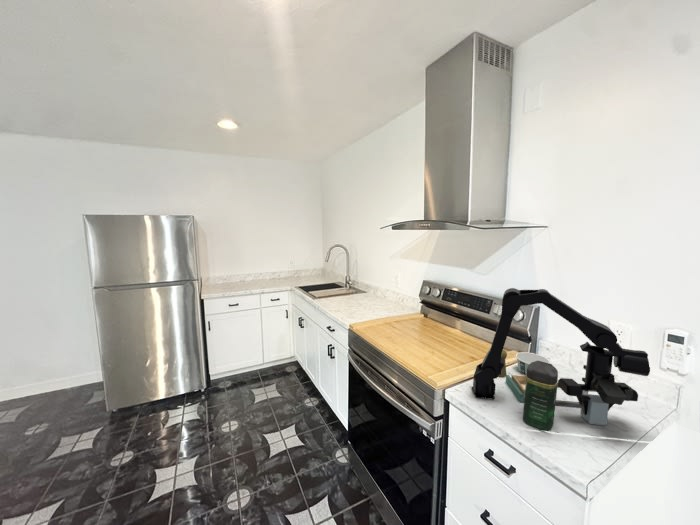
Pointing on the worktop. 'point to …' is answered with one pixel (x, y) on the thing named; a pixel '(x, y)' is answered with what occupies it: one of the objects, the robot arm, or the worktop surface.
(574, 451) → the worktop surface
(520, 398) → the bay
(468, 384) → the worktop surface
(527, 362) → the food container
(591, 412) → the block
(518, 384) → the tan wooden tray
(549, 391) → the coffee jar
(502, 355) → the cork
